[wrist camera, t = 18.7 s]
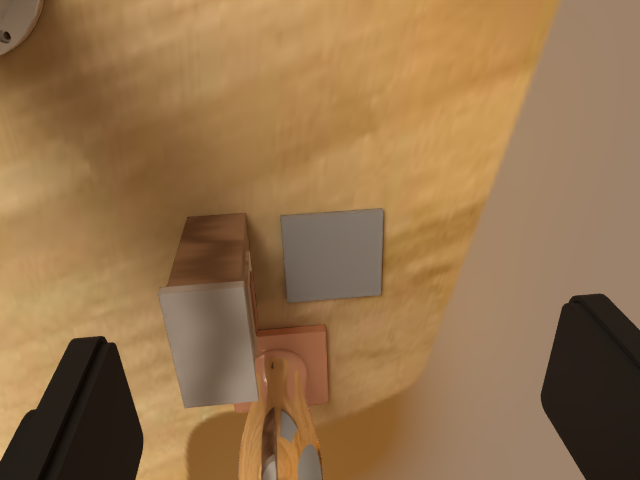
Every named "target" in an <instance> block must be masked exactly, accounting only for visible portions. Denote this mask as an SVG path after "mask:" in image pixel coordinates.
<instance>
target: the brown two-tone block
mask: <svg viewBox="0 0 640 480" xmlns="http://www.w3.org/2000/svg"><path fill="white" fill-rule="evenodd" d="M158 296H159V301H160V305H161V309H162V314H163V318H164V322H165V326H166V331H167V335H168V339H169V343H170V348H171V352H172V356H173V360H174V365H175V369H176V373H177V378H178V382H179V386H180V390H181V395H182V399H183V403H184V407H185V408H191V407H202V406H212V405H223V404H233V403H244V402H254V401H258V399H259V393H258V385H257V377H256V370H255V358H257V336H258V316H257V305H256V297H255V288H254V280H253V272H252V263H251V255H250V246H249V238H248V230H247V221H246V213H240V214H226V215H212V216H198V217H187V220H186V223H185V226H184V230H183V233H182V237H181V240H180V243H179V247H178V250H177V254H176V257H175V260H174V264H173V267H172V271H171V274H170V277H169V281H168V284H167V287H160V290H159V293H158Z"/></svg>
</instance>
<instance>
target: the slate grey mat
mask: <svg viewBox="0 0 640 480" xmlns="http://www.w3.org/2000/svg"><path fill="white" fill-rule="evenodd" d="M281 229H282V241H283V253H284V265H285V277H286V289H287V302H288V303H292V302H304V301H316V300H328V299H340V298H352V297H364V296H376V295H381V276H382V241H383V209H382V208H380V209H366V210H352V211H338V212H325V213H311V214H297V215H283V216H281Z"/></svg>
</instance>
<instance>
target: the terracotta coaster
mask: <svg viewBox="0 0 640 480" xmlns="http://www.w3.org/2000/svg"><path fill="white" fill-rule="evenodd" d="M272 350H286V351H290V352H293V353H295V354H297V355H298V356H300V357H301V358H302V359H303V360H304V362H305V364H306V366H307V370H308V375H307V382H306V400H307V404H308V405H317V404H327V403H328V379H327V353H326V330H325V325H315V326H303V327H291V328H280V329H268V330H258V336H257V357H258V356H259V355H261V354H263V353H265V352H268V351H272ZM250 404H251V402H244V403H234V407H235V412H244V411H249V408H250Z"/></svg>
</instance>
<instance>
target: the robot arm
mask: <svg viewBox="0 0 640 480" xmlns="http://www.w3.org/2000/svg"><path fill="white" fill-rule="evenodd" d="M43 2H44V0H0V55H2V54H4V53H6V52H8V51H10V50H12V49H14V48H16V47H17V46H18V45H19V44H20V43H21V42H22V41H24V40H25V39H26V38H27V37H28V36H29V34H30V33H31V31H32V30H33V28H34V27H35V25H36V24H37V21H38V19H39V16H40V14H41V11H42V8H43ZM6 32H8V33H9V34H10V36H11V39H9V38H8V37H7V35H6ZM541 402H542V406H543V409H544V411H545V413H546V414H547V416H548V418H549V419H550V421H551V423H552V424H553V426H554V428H555V429H556V431H557V433H558V434H559V436H560V438H561V439H562V441H563V442H564V444H565V446H566V448H567V449H568V451H569V453H570V454H571V456H572V457H573V459H574V461H575V462H576V464H577V466H578V467H579V469H580V471H581V472H582V474H583V475H584V477H585V479H586V480H640V330H639V329H638V328H637V327H636V326H635V325H634V324H633V323H632V322H631V321H630V320H629V319H628V318H627V317H626V316H625V315H624V314H623V313H622V312H621V311H620V310H619V309H618V308H617V307H616V306H615V305H614V304H613V303H612V302H611V301H610V299H609V298H608V297H606V296H605V295H604V294H589V295H578V296H573V297H572V298H571V299H570V301H569V303H566V304H564V306H563V307H562V310H561V314H560V318H559V322H558V326H557V330H556V334H555V339H554V343H553V347H552V351H551V355H550V359H549V363H548V367H547V371H546V375H545V379H544V383H543V388H542V391H541ZM142 450H143V433H142V429H141V426H140V422H139V419H138V416H137V412H136V409H135V406H134V402H133V399H132V396H131V392H130V389H129V386H128V382H127V379H126V376H125V372H124V369H123V366H122V363H121V359H120V356H119V353H118V349H117V346H116V344H115V343H113V342H112V343H108V342H107V340H106V339H105V337H103V336H98V337H86V338H74V339H73V340H71V342H70V343H69V345H68V347H67V349H66V351H65V353H64V355H63V357H62V359H61V361H60V363H59V365H58V367H57V369H56V371H55V373H54V375H53V377H52V379H51V381H50V383H49V385H48V387H47V389H46V391H45V393H44V395H43V397H42V399H41V401H40V403H39V405H38V407H37V409H35V410H31V411H29V412H28V413H27V414H26V415H25V416H24V418H23V419H22V421H21V423H20V425H19V426H18V428H17V430H16V432H15V434H14V436H13V438H12V440H11V442H10V444H9V446H8V448H7V450H6V451H5V453H4V455H3V457H2V459H1V461H0V480H135V479H136V475H137V471H138V467H139V463H140V459H141V455H142Z"/></svg>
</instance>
